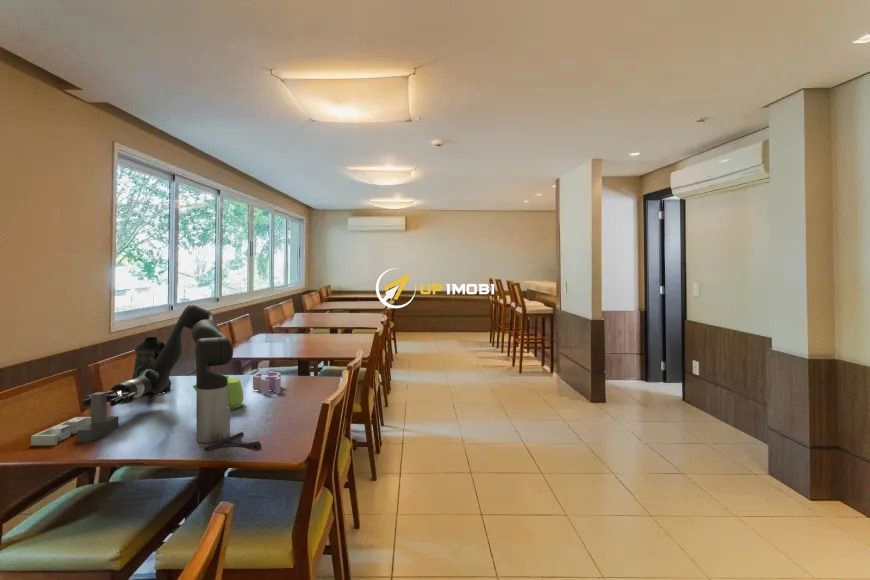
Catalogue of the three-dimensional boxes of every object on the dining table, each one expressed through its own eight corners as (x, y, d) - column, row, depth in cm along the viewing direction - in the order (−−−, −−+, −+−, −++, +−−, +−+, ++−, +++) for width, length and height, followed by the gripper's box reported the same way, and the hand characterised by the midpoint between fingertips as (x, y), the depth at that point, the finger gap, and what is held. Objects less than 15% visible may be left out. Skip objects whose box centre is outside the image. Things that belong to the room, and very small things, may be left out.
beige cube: (85, 429, 155) (85, 418, 155) (76, 433, 151) (76, 421, 151) (73, 429, 154) (73, 418, 154) (64, 433, 150) (64, 422, 150)
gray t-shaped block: (118, 427, 157) (118, 388, 157) (90, 442, 143) (90, 398, 143) (106, 427, 157) (106, 388, 156) (77, 442, 143) (77, 399, 142)
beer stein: (143, 387, 214) (143, 335, 213) (184, 387, 214) (184, 335, 214) (120, 396, 197) (119, 339, 197) (164, 396, 198) (164, 340, 197)
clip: (286, 393, 206) (286, 378, 206) (257, 396, 200) (258, 381, 200) (276, 384, 223) (276, 370, 223) (250, 387, 217) (250, 372, 217)
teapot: (189, 417, 169) (189, 383, 169) (196, 403, 188) (196, 372, 187) (242, 412, 176) (242, 379, 175) (244, 399, 194) (244, 369, 194)
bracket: (242, 459, 132) (242, 450, 132) (204, 451, 138) (204, 443, 138) (275, 443, 146) (275, 435, 146) (239, 437, 151) (240, 428, 151)
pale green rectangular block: (96, 425, 159) (96, 416, 159) (54, 445, 140) (54, 435, 140) (75, 425, 158) (75, 417, 158) (31, 445, 139) (31, 436, 139)
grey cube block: (70, 436, 148) (69, 424, 147) (60, 441, 144) (60, 429, 144) (57, 437, 147) (57, 425, 147) (47, 441, 143) (47, 429, 143)
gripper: (107, 381, 165) (75, 392, 149) (147, 381, 166) (119, 392, 150) (107, 401, 165) (75, 414, 149) (147, 401, 166) (120, 414, 150)
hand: (97, 403), depth 149 cm, fingers open, 8 cm apart
